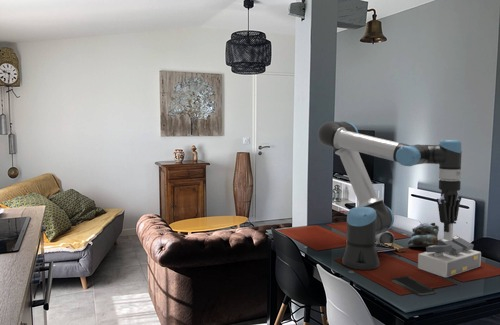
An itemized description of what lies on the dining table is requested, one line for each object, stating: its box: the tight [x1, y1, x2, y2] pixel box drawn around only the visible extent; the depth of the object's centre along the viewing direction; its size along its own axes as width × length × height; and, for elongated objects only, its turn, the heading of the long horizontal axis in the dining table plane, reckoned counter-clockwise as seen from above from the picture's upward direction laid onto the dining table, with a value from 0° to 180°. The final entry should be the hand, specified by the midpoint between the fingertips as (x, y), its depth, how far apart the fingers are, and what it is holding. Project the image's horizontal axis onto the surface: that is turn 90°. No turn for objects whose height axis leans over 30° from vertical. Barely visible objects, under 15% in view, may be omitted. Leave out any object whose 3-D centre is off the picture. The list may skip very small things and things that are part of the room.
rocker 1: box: [425, 245, 452, 252], centre depth 156 cm, size 8×5×2 cm, turn 31°
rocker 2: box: [437, 238, 463, 254], centre depth 159 cm, size 8×5×2 cm, turn 31°
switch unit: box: [417, 249, 482, 278], centre depth 160 cm, size 24×12×8 cm, turn 121°
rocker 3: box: [451, 235, 475, 251], centre depth 163 cm, size 8×5×2 cm, turn 31°
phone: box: [391, 275, 437, 297], centre depth 140 cm, size 8×1×15 cm
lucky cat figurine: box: [407, 222, 440, 248], centre depth 187 cm, size 15×12×14 cm
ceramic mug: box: [375, 230, 395, 246], centre depth 191 cm, size 11×8×8 cm
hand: (448, 239), depth 152 cm, fingers closed
